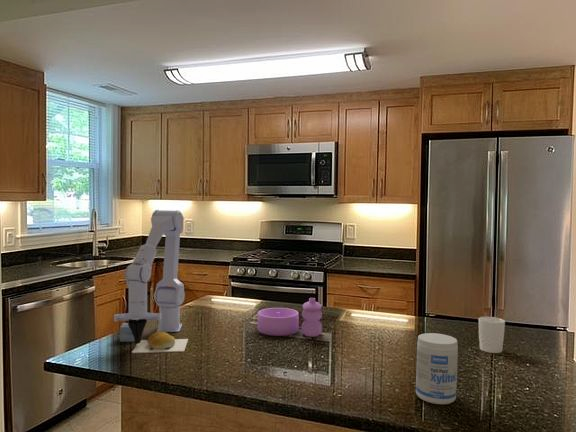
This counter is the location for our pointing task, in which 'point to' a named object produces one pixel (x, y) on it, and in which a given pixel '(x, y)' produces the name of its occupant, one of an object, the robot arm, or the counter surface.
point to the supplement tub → (436, 368)
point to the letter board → (145, 348)
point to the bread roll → (161, 340)
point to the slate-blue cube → (126, 333)
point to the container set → (291, 320)
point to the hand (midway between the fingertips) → (137, 342)
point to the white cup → (491, 334)
